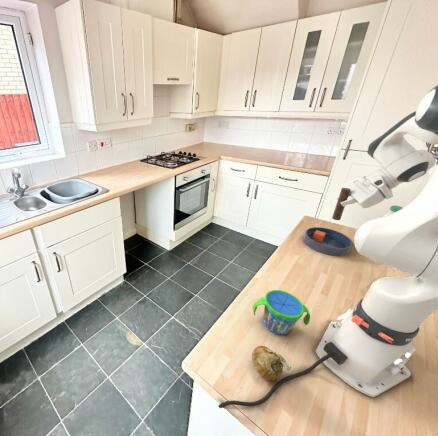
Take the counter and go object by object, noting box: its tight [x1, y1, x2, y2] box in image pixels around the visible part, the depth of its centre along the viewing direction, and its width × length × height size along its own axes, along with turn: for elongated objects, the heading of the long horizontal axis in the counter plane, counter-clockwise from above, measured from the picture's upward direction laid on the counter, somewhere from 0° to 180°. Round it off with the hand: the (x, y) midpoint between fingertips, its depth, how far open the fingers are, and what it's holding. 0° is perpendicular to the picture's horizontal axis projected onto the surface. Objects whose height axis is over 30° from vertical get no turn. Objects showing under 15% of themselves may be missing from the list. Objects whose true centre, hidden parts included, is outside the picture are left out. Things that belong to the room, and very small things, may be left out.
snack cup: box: [252, 289, 311, 335], centre depth 74 cm, size 16×10×10 cm
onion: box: [251, 345, 292, 381], centre depth 63 cm, size 8×8×8 cm
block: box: [312, 230, 326, 243], centre depth 116 cm, size 4×4×4 cm
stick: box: [331, 187, 351, 221], centre depth 104 cm, size 3×3×14 cm
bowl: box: [302, 226, 354, 257], centre depth 113 cm, size 18×18×4 cm
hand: (339, 202), depth 104 cm, fingers closed on stick, 3 cm apart
